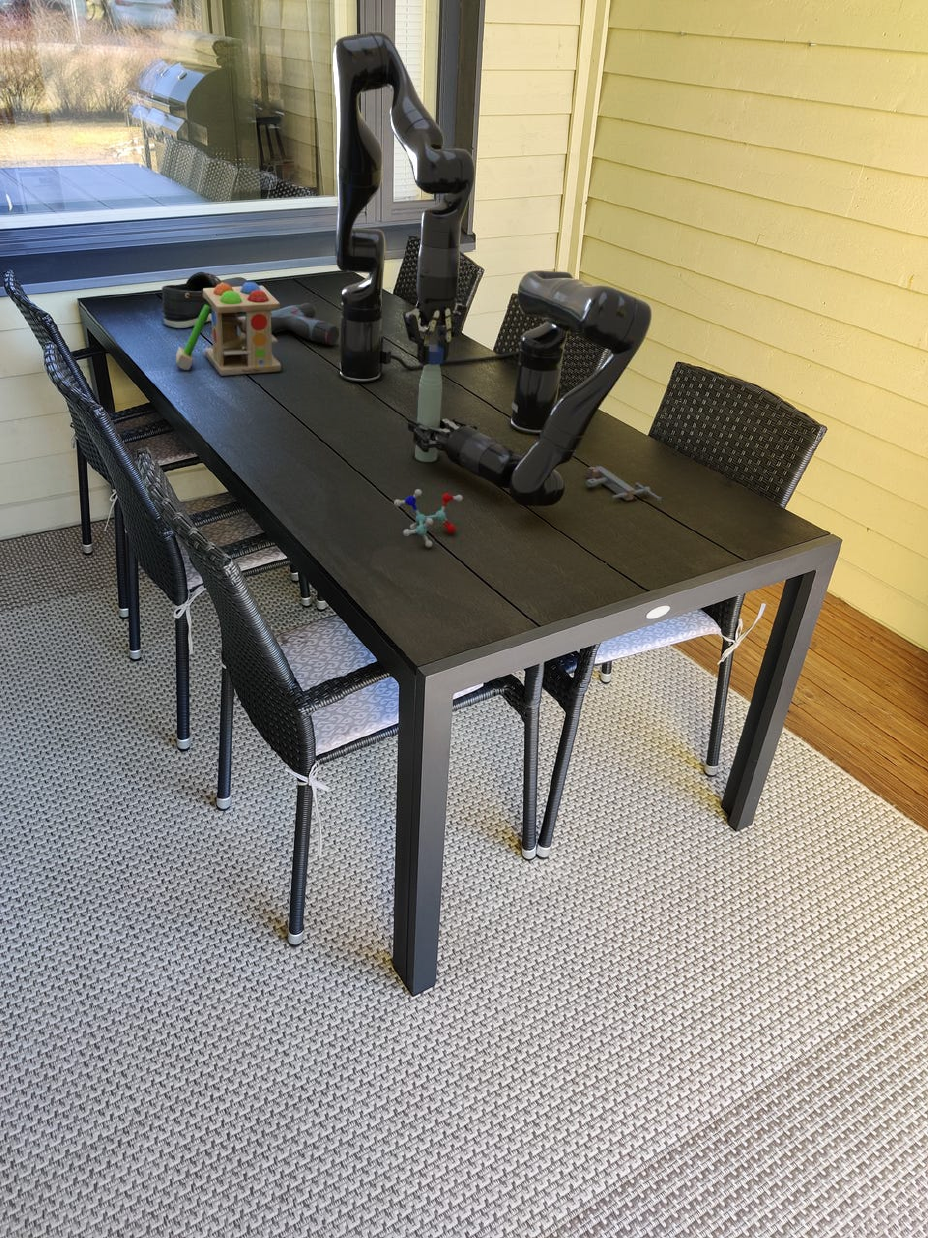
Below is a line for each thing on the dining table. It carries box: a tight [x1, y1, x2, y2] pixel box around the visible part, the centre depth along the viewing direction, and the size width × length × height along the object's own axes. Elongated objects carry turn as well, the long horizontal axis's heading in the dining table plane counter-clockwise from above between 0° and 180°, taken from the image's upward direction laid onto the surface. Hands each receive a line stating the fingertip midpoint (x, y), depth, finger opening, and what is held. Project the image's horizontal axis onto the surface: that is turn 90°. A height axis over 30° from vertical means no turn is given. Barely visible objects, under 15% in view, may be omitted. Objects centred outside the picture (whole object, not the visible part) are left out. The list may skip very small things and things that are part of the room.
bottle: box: [414, 364, 443, 463], centre depth 192 cm, size 4×4×22 cm
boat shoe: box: [160, 271, 249, 329], centre depth 258 cm, size 13×33×10 cm, turn 147°
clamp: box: [585, 465, 663, 503], centre depth 191 cm, size 15×2×10 cm
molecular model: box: [393, 488, 464, 548], centre depth 169 cm, size 12×10×10 cm
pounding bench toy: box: [174, 281, 282, 377], centre depth 225 cm, size 23×14×18 cm, turn 116°
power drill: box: [271, 302, 340, 346], centre depth 252 cm, size 5×19×20 cm
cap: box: [428, 344, 444, 365], centre depth 186 cm, size 4×4×2 cm
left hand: (432, 361), depth 187 cm, fingers closed on cap, 4 cm apart
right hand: (419, 421), depth 196 cm, fingers closed on bottle, 4 cm apart
